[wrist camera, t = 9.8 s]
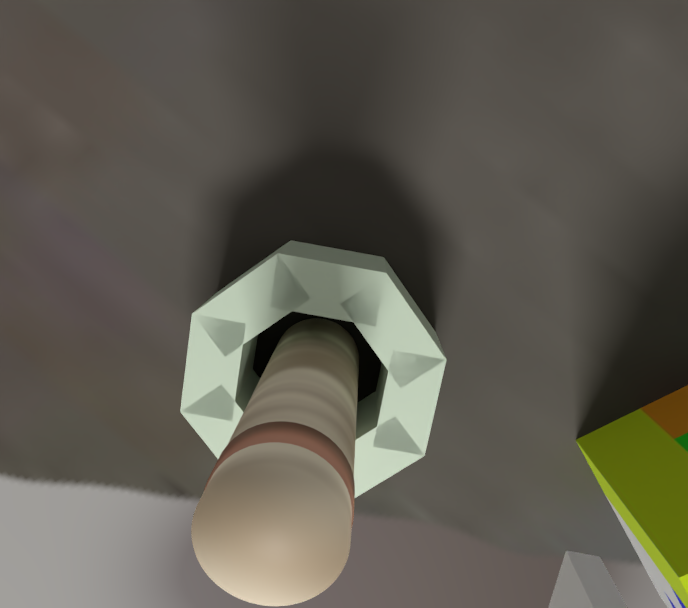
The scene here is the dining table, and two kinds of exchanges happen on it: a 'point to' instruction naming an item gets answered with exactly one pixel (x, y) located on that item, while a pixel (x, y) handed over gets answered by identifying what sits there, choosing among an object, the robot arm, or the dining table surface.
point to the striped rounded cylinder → (286, 475)
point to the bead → (332, 302)
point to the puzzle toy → (649, 486)
